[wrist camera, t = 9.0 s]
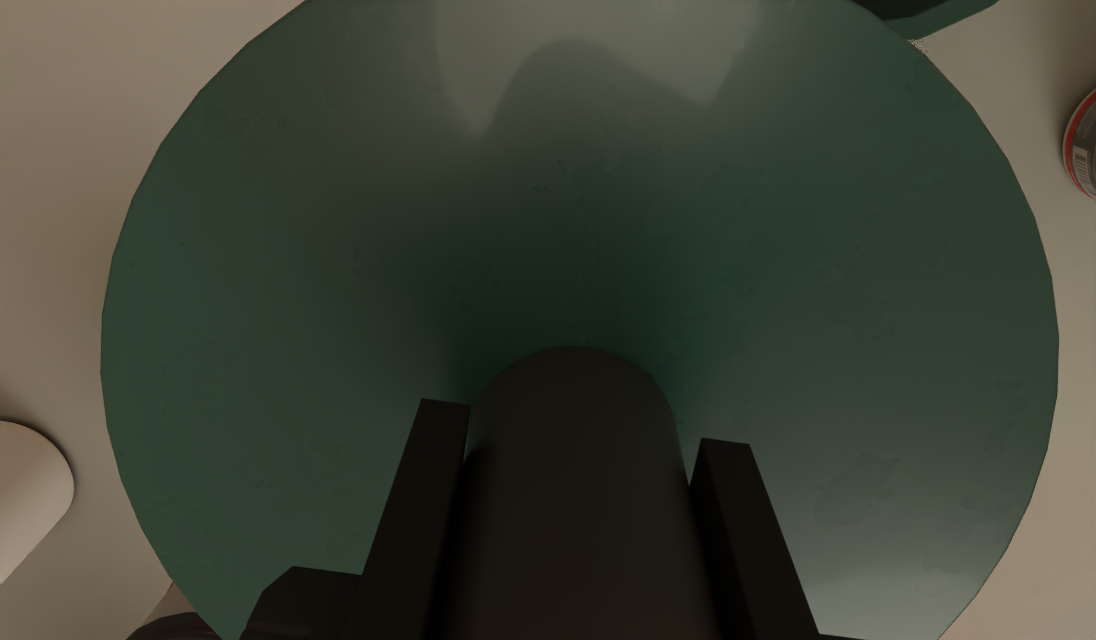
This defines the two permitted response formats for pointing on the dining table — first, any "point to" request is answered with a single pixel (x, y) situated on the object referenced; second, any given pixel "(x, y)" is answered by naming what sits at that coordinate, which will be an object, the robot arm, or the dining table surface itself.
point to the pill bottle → (1082, 146)
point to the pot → (923, 14)
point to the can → (29, 492)
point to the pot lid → (583, 311)
